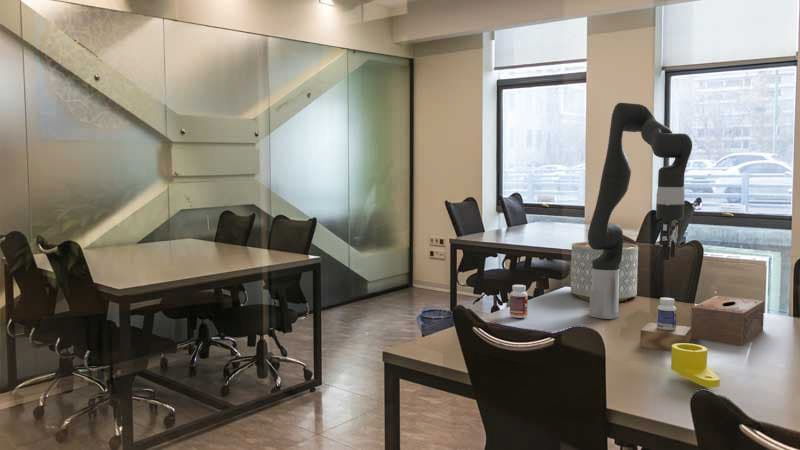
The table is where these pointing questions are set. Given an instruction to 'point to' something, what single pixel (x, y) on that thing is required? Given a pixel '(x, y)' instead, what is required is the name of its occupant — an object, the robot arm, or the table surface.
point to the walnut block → (663, 337)
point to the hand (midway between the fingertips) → (668, 258)
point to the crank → (693, 364)
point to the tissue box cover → (727, 320)
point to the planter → (583, 270)
